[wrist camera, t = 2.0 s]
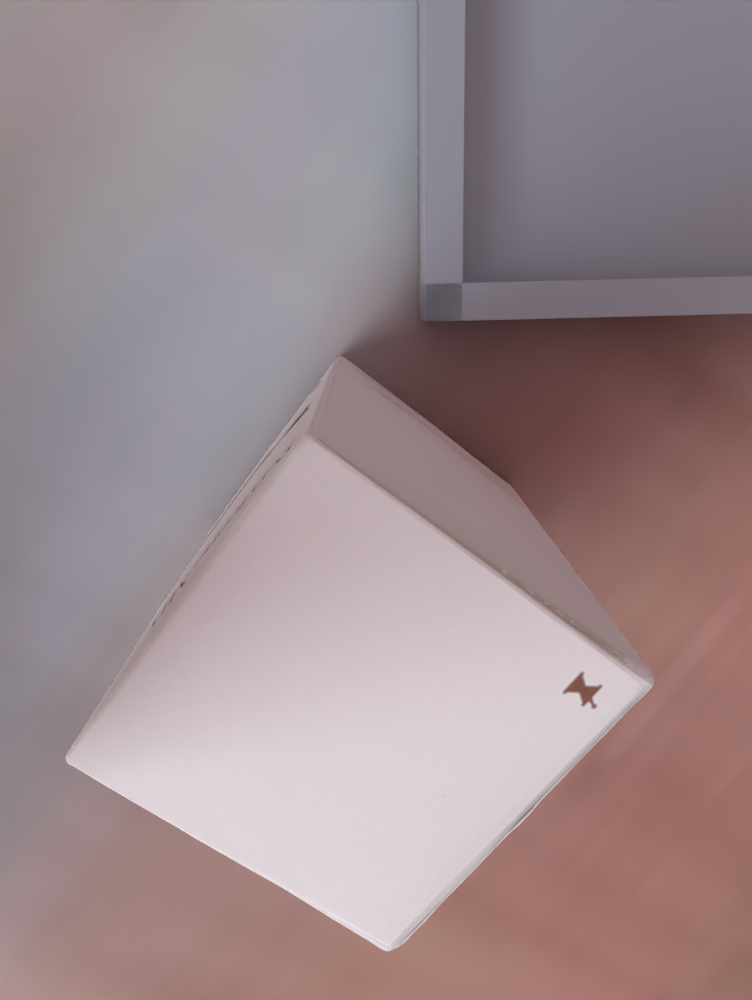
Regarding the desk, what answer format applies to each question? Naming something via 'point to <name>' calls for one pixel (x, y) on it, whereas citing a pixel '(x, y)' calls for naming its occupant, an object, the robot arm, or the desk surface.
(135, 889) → the desk surface
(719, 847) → the desk surface
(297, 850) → the supplement box
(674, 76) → the tray
